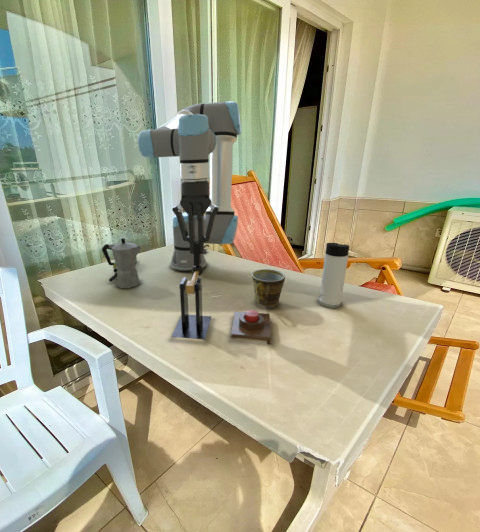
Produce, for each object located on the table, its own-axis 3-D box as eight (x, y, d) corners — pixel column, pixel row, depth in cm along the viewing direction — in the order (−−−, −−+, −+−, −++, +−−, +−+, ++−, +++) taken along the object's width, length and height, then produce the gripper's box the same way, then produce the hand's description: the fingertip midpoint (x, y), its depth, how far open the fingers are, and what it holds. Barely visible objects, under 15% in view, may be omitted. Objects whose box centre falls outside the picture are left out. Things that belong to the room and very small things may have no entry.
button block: (234, 317, 90) (234, 305, 88) (269, 320, 88) (269, 308, 86) (231, 341, 79) (231, 328, 77) (270, 344, 77) (271, 331, 75)
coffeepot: (148, 279, 120) (144, 235, 113) (140, 289, 111) (135, 242, 105) (112, 278, 122) (106, 234, 116) (101, 287, 114) (94, 241, 107)
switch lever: (193, 272, 91) (192, 262, 90) (204, 273, 91) (204, 262, 89) (184, 295, 80) (183, 283, 78) (196, 295, 79) (196, 284, 78)
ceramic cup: (258, 294, 104) (259, 267, 100) (287, 301, 98) (289, 272, 95) (241, 310, 94) (242, 280, 91) (272, 318, 89) (274, 287, 85)
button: (245, 315, 84) (245, 309, 83) (258, 315, 83) (258, 310, 83) (244, 321, 81) (244, 316, 80) (258, 322, 80) (258, 316, 79)
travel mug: (315, 304, 96) (322, 243, 89) (323, 297, 100) (331, 238, 93) (336, 310, 92) (345, 247, 85) (343, 302, 96) (353, 242, 89)
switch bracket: (181, 317, 91) (179, 271, 86) (211, 319, 89) (211, 273, 84) (171, 340, 80) (167, 289, 75) (205, 343, 78) (203, 291, 73)
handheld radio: (138, 261, 140) (115, 283, 117) (131, 261, 141) (107, 283, 118) (136, 247, 138) (112, 267, 115) (129, 248, 138) (104, 267, 115)
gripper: (167, 181, 78) (172, 267, 86) (217, 181, 75) (218, 269, 83) (174, 179, 84) (178, 259, 93) (221, 178, 82) (221, 260, 90)
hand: (197, 264), depth 88 cm, fingers closed
